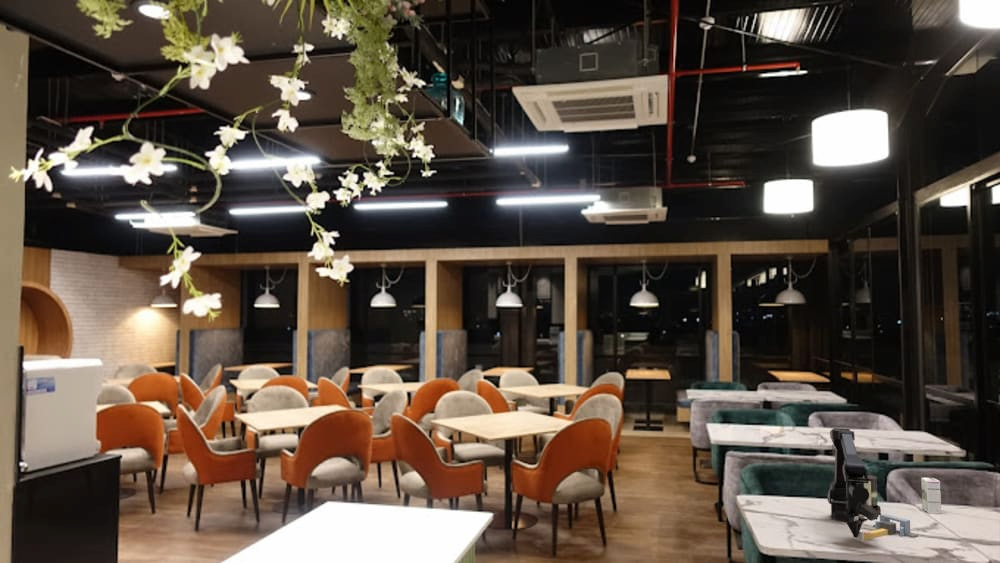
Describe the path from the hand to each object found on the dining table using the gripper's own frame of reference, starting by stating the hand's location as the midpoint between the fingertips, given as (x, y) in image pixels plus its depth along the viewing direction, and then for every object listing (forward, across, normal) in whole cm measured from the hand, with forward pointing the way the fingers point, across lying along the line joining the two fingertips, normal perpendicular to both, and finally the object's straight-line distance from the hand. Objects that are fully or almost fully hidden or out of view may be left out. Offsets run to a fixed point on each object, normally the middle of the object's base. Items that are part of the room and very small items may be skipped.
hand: (855, 537), depth 252 cm
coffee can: (+2, +49, +27) cm, 56 cm away
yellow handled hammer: (+1, +12, 0) cm, 12 cm away
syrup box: (+2, +70, +9) cm, 70 cm away
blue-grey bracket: (+1, +25, 0) cm, 25 cm away
